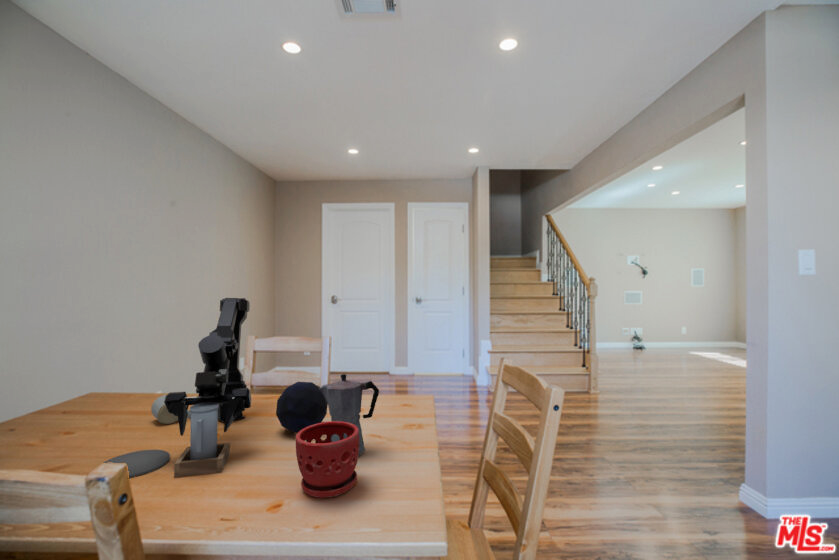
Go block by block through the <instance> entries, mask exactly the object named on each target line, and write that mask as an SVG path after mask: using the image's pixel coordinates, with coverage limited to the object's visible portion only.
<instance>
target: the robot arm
mask: <svg viewBox="0 0 839 560" xmlns="http://www.w3.org/2000/svg"><path fill="white" fill-rule="evenodd" d="M250 306H251V305H250V301H249V300H247V299H246V298H245V297H239V298H238V297H224V298H222V299H220V301H219V312H220V314H219V317H218V320H217V321H218V322H217V325H216V328H215V329H213V330H212V331H210V332H209V335H208V336H205V337H203V338H202V339H201V340H200V341H199V342H198V344H197V345H198V349H199V353H200V357H201V361H202V364H204V369H203V371H200V372H196V374H195V381H194V387H195V388H196V389H195V393H196V394H198V395H197V396H188V395H187V393H186V391H173V392H168V393H167V394H166V395H167V396H166V397H165V401H164V403H165V405H166V407H167V410H168V412H169V413H172V414H174V416H178V421H177V422H178V427H179V435H180V437H181V436H183V437H184V433H185V431H186V426H187V421H188V418H187V416H188V413H187V410H189V408H190V407H189V406H193V405H196V404H200V403H207V402H214V403H218V404H219V408H218V421H220V422H222V423H223V424H224V426H223V433H227V431H228V430H229V428H230V427H231V425H232V424H233V422H235V421H239V420H242V419H245V418H246V417H245V415H243V412H244V411H246V409H249V408H251V406H252V393H251V389H249V388H248V386H247V384H246V381H245V380H244V375H243V373H242V372H241V370H240V369H239V367H240V365H239V364H240V354H241V338H242V337H241V336H242V333H241V332H242V325H243V324H244V322H245V320H246V319H247V318H248V312H250V308H251V307H250Z"/></svg>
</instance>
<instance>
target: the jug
mask: <svg viewBox="0 0 839 560" xmlns="http://www.w3.org/2000/svg"><path fill="white" fill-rule="evenodd" d="M218 408H219V404H218V403H214V402H207V403H200V404H196V405H190V407H189V411H190V412H191V418H190V438H189V440H190V441H189V442H190V445H189V447H190V460H199V459H209V458H217V444H218V421H219V420H218Z"/></svg>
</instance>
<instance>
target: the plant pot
mask: <svg viewBox="0 0 839 560" xmlns="http://www.w3.org/2000/svg"><path fill="white" fill-rule="evenodd" d="M344 433H346V434H347V438H346V439H345V438H344ZM334 434H337V435H338V436H339V438H340V441H336V442H332V440H331V437H332V435H334ZM322 436H326V438H324V439H322ZM313 440H314V442H312V441H313ZM358 454H359V430H358V427H357V426H355V425H354V424H352V423H348V422H342V421H331V420H330V421H324V422H323V421H322V422H321V423H317V424H314V425H311V426H308V427H306V428H304V429H302V430H301V431H299V432H298V433H296V435H295V456H296V461H297V466H298V469H299V472H300V474H301V477H302V479H301V480H300V481H301V482H300V485H301V488H302V490H303V491H304V492H305V493H306V494H307V495H309V496H311V497H315V498H324V499H325V498H335V497H337V496H339V495H343V494H344V493H346V492H348V491H349V490H351V488H353V486H355V484H356V482H357V478H358V473H357V471H356V470H355V469H356V467H357V464H358V461H359V455H358Z"/></svg>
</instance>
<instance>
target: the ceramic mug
mask: <svg viewBox="0 0 839 560" xmlns="http://www.w3.org/2000/svg"><path fill="white" fill-rule="evenodd" d="M167 395H168V394H164V395H161V396H159V397H158V398H156V399H155V400H154V401H153V402H152V405H151V409H150V410H151V414H152V416H153V417H154V418H155V419H156V420H157V421H158V422H159V423H161V424H163V425H172V424H175V423H176V422H179V421H178V416H174V414H172V413H169V412H168V410H167V407H166V405H165V403H164V401H165V397H166V396H167ZM187 413H188V416H187V419H191V412H190V409H188V410H187Z"/></svg>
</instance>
